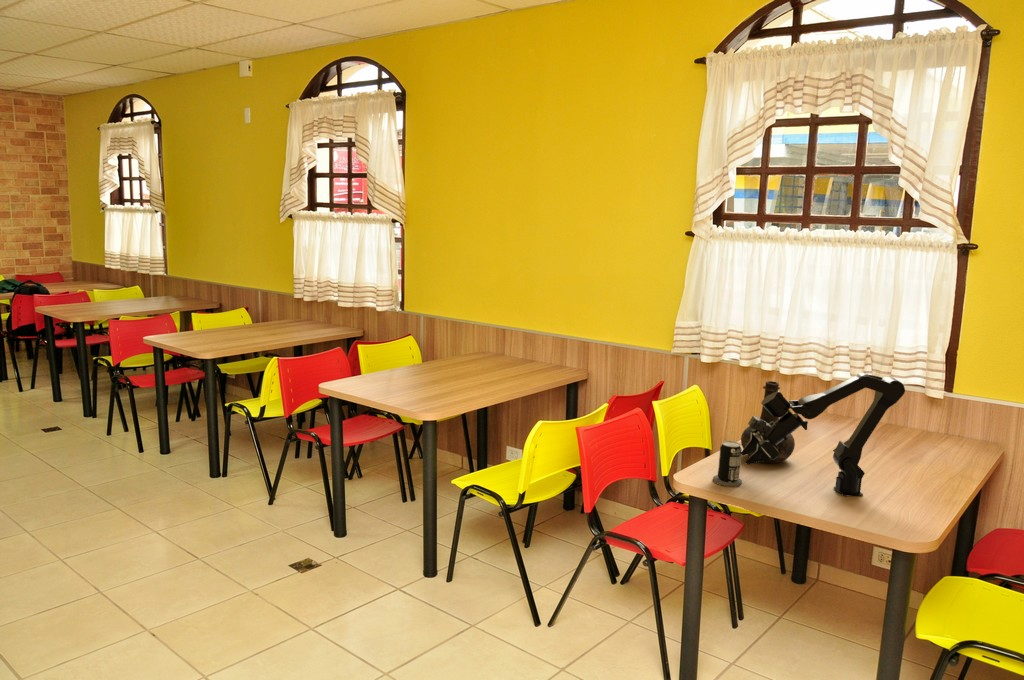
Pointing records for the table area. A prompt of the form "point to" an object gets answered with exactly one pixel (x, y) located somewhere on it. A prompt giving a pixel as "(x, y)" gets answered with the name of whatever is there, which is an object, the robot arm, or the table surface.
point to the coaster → (737, 483)
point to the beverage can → (729, 461)
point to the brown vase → (784, 446)
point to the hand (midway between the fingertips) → (744, 458)
